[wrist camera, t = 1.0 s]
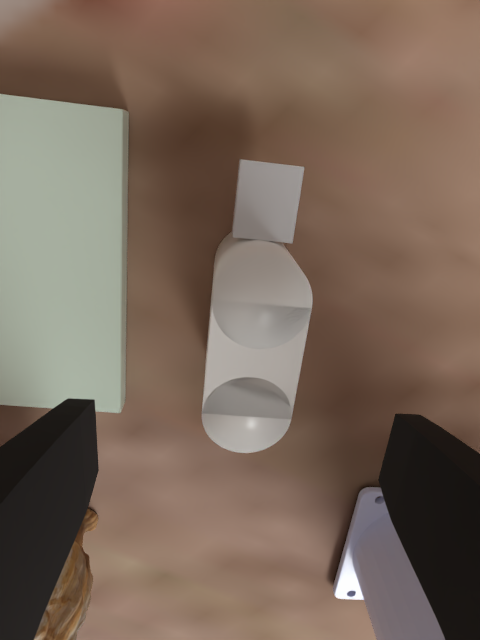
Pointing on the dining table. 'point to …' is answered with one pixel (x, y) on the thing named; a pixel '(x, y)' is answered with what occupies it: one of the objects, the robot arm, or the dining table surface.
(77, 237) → the pale green rectangular panel
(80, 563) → the lion figurine
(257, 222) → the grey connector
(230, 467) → the dining table surface
